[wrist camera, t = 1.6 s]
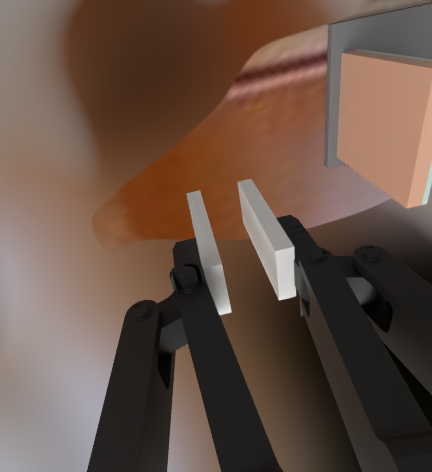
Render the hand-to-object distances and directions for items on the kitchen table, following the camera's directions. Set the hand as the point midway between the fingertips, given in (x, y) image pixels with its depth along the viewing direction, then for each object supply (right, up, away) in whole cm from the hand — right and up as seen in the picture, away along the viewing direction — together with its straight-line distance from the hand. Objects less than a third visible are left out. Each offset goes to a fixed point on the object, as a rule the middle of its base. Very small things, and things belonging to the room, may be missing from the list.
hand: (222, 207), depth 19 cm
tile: (+15, +14, +20) cm, 29 cm away
